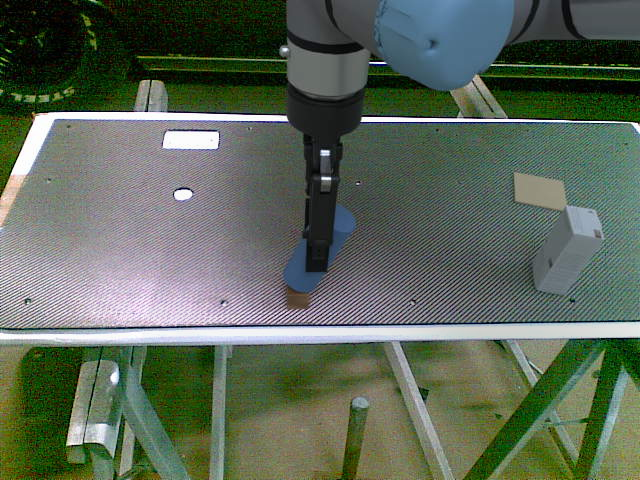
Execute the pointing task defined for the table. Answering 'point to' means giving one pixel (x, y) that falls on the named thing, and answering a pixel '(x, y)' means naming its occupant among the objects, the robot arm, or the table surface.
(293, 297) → the brown rectangular block
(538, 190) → the mat
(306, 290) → the tube
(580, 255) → the cosmetic box
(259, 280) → the table surface
